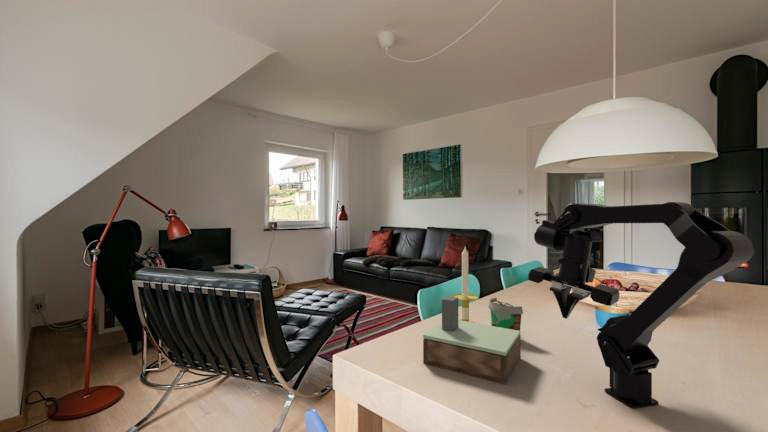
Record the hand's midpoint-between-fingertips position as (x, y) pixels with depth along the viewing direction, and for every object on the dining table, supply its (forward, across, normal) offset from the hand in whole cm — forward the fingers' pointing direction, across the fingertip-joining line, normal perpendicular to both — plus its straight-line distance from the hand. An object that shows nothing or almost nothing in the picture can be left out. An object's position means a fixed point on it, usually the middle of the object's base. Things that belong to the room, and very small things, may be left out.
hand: (565, 317), depth 82 cm
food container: (+16, +20, -7) cm, 26 cm away
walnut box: (+14, +14, +15) cm, 25 cm away
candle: (+18, +32, -5) cm, 37 cm away
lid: (+8, +15, +15) cm, 23 cm away
